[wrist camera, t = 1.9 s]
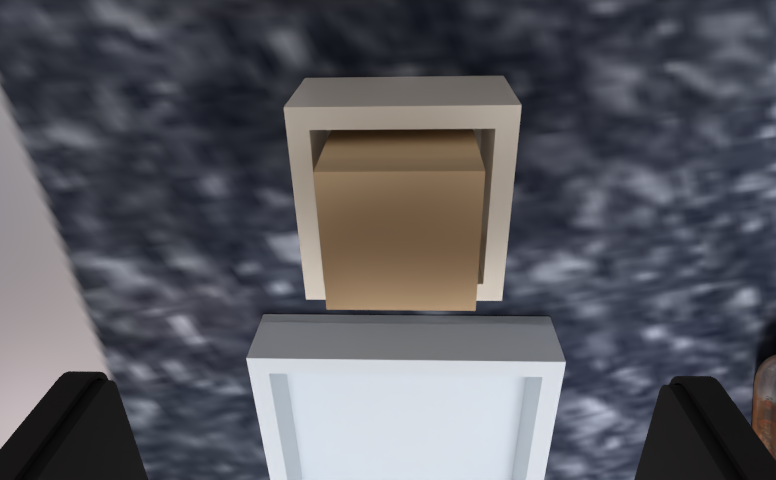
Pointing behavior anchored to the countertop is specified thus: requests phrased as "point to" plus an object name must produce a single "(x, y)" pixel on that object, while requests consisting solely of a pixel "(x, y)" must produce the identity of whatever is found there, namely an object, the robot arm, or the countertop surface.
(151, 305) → the countertop surface
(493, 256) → the cream square open box
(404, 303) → the block
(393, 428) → the tray
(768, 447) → the tin
